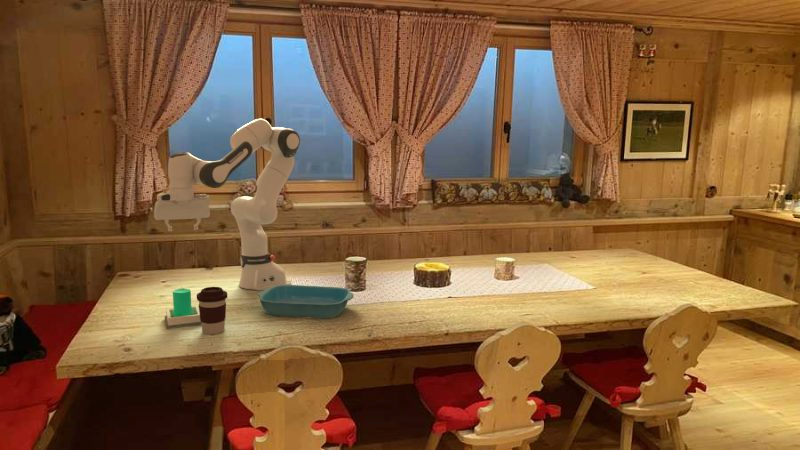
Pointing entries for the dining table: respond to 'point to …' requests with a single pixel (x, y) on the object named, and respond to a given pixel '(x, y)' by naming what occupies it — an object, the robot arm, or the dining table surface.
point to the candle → (182, 302)
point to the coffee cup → (212, 309)
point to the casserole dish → (305, 301)
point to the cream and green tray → (182, 318)
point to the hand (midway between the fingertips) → (183, 230)
